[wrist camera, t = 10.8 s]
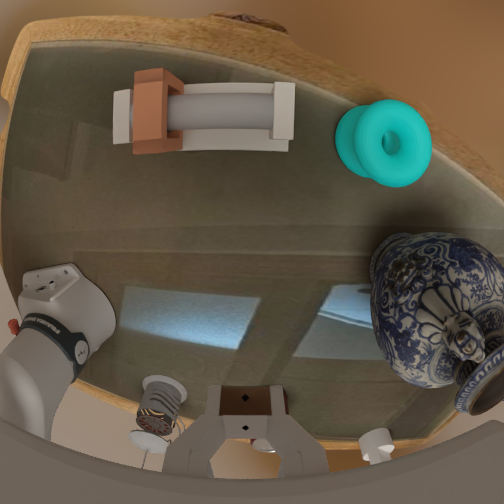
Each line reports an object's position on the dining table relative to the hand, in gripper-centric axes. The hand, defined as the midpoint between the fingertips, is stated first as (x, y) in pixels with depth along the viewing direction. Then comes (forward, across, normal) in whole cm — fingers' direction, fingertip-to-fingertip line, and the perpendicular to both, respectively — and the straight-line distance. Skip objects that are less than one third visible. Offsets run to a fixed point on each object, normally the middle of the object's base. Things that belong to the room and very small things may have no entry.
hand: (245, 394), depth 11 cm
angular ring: (+27, -9, +13) cm, 32 cm away
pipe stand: (+30, -5, +13) cm, 33 cm away
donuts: (+30, +16, +11) cm, 36 cm away
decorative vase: (+30, +24, -7) cm, 39 cm away
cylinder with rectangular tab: (+30, +35, -60) cm, 76 cm away
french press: (+31, -17, -38) cm, 51 cm away
